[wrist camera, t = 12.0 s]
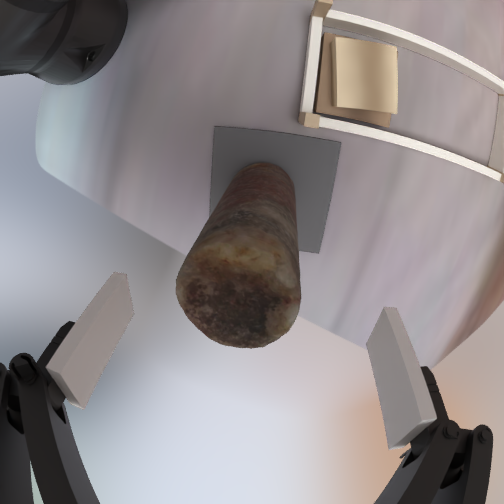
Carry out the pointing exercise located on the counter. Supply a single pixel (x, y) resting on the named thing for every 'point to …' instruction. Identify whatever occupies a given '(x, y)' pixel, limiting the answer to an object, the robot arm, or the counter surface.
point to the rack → (500, 162)
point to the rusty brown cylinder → (246, 262)
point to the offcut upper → (364, 75)
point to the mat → (291, 161)
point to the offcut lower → (325, 93)
